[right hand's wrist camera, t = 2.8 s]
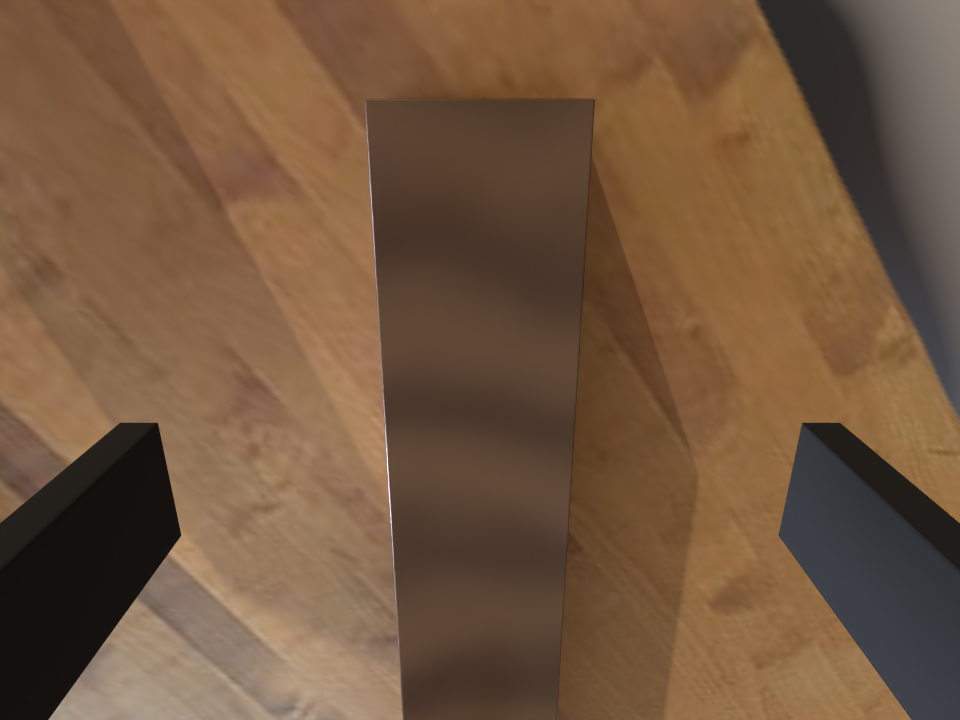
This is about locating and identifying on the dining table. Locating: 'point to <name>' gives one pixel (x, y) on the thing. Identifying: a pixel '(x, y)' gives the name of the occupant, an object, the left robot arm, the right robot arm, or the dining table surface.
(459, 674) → the wooden beam
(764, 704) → the dining table surface
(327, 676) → the dining table surface
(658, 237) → the dining table surface
